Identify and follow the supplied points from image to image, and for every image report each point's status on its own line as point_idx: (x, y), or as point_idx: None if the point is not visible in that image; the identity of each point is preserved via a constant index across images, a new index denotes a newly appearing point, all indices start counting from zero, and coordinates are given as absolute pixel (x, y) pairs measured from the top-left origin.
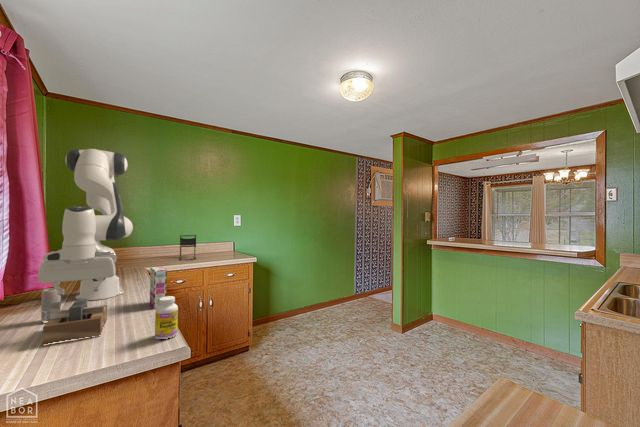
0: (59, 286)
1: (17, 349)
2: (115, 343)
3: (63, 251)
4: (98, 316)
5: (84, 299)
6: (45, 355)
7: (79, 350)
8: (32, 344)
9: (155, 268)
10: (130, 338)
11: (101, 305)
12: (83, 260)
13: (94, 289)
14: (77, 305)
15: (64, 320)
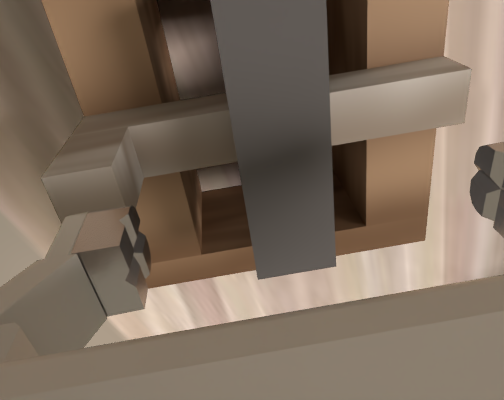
0: (37, 291)
1: (57, 220)
2: (444, 270)
3: None
4: (411, 200)
5: (301, 6)
6: (219, 301)
7: (326, 293)
8: None
9: None
10: (500, 241)
11: (447, 84)
12: None
13: (497, 217)
14: (298, 226)
15: (160, 69)
